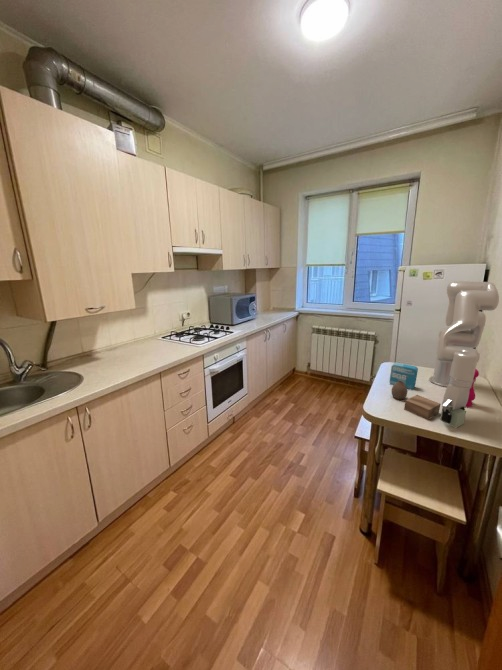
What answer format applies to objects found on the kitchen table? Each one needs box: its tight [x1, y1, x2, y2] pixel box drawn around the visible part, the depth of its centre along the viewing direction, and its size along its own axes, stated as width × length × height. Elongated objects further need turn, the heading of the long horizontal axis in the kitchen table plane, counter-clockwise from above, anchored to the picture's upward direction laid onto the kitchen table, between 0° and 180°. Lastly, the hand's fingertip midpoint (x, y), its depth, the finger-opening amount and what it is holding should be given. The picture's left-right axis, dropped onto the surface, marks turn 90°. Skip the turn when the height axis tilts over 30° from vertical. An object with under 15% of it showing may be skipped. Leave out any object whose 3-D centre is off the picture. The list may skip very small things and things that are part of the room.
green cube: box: [439, 405, 467, 428], centre depth 111 cm, size 6×6×6 cm
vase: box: [391, 381, 408, 400], centre depth 131 cm, size 7×7×9 cm
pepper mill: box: [466, 368, 480, 408], centre depth 123 cm, size 7×7×20 cm
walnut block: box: [403, 394, 441, 421], centre depth 119 cm, size 10×10×5 cm
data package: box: [389, 362, 419, 390], centre depth 144 cm, size 12×4×12 cm, turn 52°
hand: (452, 418), depth 111 cm, fingers open, 9 cm apart
